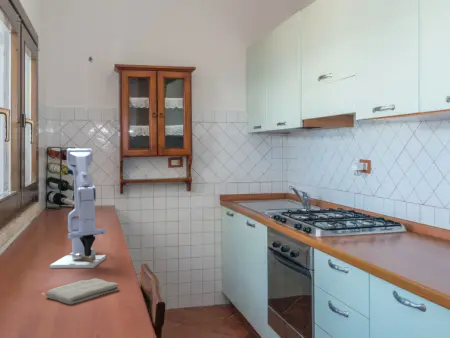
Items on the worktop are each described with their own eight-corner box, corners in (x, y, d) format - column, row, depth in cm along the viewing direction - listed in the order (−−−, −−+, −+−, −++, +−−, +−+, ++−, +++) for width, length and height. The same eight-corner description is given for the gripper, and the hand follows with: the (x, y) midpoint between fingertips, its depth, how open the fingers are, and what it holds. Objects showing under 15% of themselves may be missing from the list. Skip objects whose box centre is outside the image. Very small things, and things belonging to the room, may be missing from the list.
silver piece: (69, 259, 175) (69, 248, 174) (79, 256, 179) (79, 246, 179) (89, 262, 169) (89, 251, 169) (99, 259, 173) (99, 248, 173)
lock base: (66, 258, 184) (66, 255, 184) (106, 257, 183) (105, 254, 183) (49, 268, 168) (49, 264, 168) (93, 267, 167) (93, 264, 167)
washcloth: (121, 291, 140) (121, 281, 140) (70, 307, 125) (69, 296, 125) (96, 285, 147) (96, 275, 147) (45, 299, 132) (44, 289, 132)
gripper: (74, 222, 162) (75, 260, 163) (110, 217, 173) (110, 253, 173) (64, 220, 167) (65, 257, 167) (99, 216, 178) (100, 251, 178)
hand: (87, 255), depth 171 cm, fingers closed, pressing on silver piece
